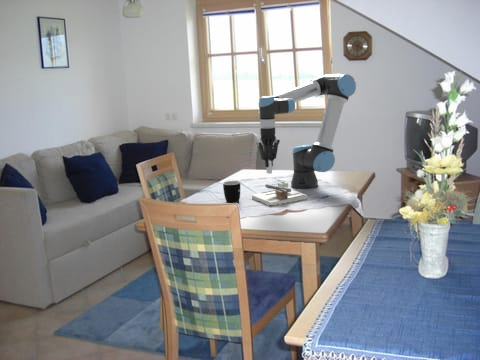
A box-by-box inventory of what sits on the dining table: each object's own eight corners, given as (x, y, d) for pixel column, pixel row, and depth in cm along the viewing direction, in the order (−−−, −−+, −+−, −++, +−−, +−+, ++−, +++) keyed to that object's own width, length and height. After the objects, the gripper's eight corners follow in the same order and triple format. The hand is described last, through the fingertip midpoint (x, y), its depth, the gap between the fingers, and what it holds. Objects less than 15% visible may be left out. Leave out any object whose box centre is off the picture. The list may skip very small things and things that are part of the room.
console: (287, 191, 308) (286, 184, 307) (307, 198, 291) (307, 190, 290) (252, 198, 298) (251, 190, 297) (271, 206, 281) (270, 198, 280)
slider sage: (284, 188, 306) (283, 180, 305) (288, 190, 302) (288, 181, 301) (278, 190, 304) (277, 181, 303) (282, 191, 300) (281, 183, 299)
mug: (241, 203, 290) (240, 184, 288) (223, 204, 290) (222, 185, 288) (241, 197, 301) (240, 179, 299) (224, 198, 302) (223, 180, 299)
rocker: (287, 190, 299) (287, 187, 299) (290, 192, 296) (291, 188, 295) (265, 187, 292) (265, 183, 292) (268, 188, 289) (269, 184, 288)
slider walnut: (283, 196, 289) (283, 188, 288) (287, 198, 286) (287, 189, 285) (276, 198, 288) (276, 189, 287) (281, 199, 284) (280, 191, 283)
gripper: (274, 125, 289) (275, 170, 294) (252, 128, 283) (254, 173, 288) (282, 126, 283) (283, 172, 288) (260, 129, 276) (262, 176, 282)
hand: (269, 173), depth 288 cm, fingers closed
